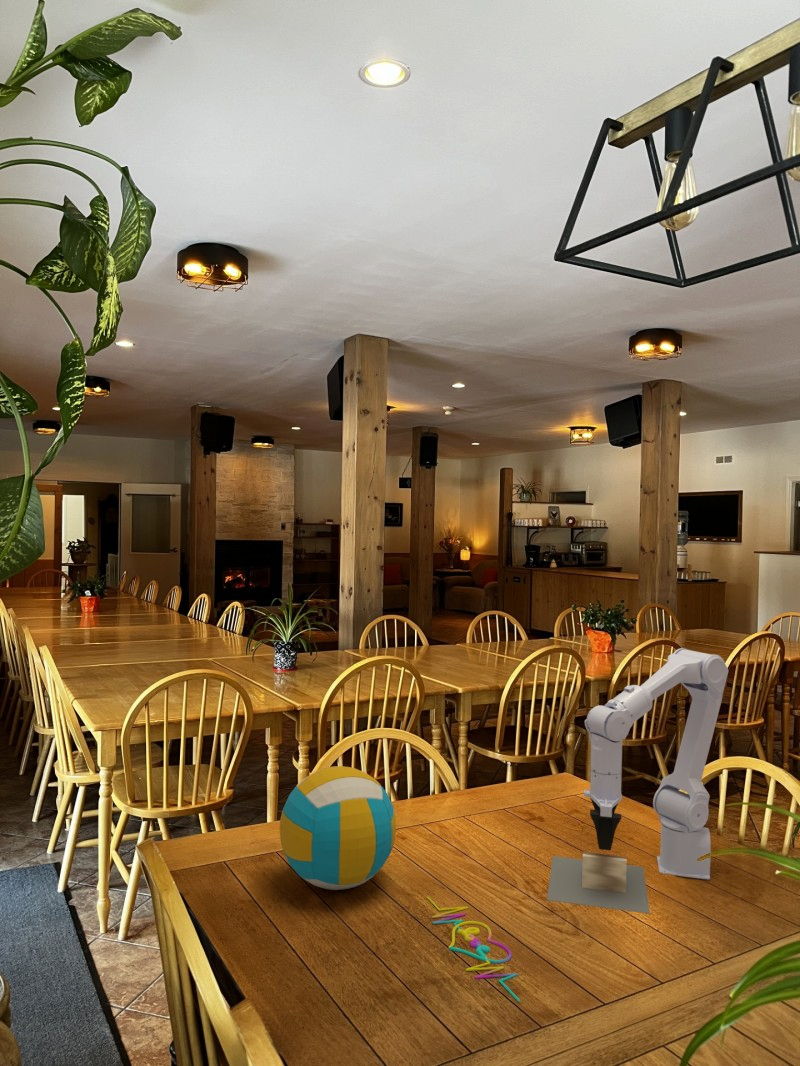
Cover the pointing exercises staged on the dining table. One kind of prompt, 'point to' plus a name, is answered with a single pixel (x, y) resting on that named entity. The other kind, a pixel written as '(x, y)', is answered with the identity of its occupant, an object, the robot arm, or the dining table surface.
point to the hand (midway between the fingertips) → (604, 841)
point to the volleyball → (337, 828)
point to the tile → (604, 872)
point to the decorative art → (475, 944)
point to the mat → (569, 889)
